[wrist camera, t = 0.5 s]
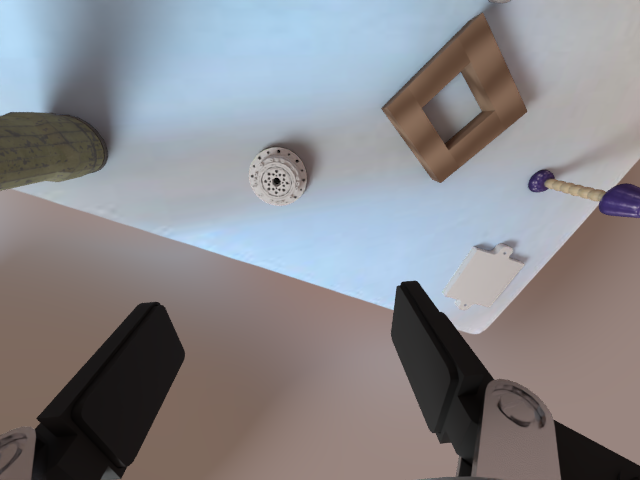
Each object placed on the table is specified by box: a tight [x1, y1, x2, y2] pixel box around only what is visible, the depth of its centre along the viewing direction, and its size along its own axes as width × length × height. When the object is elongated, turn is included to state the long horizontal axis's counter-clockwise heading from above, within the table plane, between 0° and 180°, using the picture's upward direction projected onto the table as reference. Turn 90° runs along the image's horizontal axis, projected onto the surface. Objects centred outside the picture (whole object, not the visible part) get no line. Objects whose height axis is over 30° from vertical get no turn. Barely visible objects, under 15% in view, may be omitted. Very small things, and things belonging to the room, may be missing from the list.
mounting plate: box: [442, 243, 525, 310], centre depth 55 cm, size 18×13×2 cm
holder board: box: [381, 13, 527, 183], centre depth 38 cm, size 16×16×3 cm
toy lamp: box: [528, 170, 640, 218], centre depth 38 cm, size 5×5×17 cm
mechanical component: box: [249, 147, 307, 206], centre depth 40 cm, size 10×4×10 cm
